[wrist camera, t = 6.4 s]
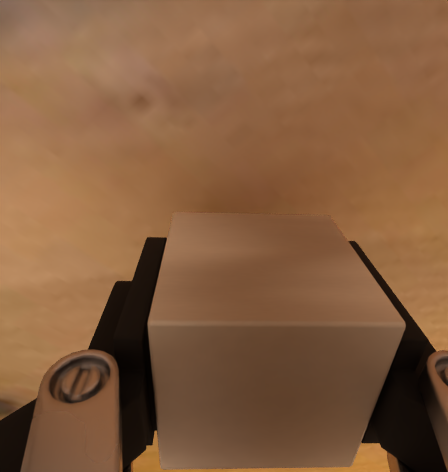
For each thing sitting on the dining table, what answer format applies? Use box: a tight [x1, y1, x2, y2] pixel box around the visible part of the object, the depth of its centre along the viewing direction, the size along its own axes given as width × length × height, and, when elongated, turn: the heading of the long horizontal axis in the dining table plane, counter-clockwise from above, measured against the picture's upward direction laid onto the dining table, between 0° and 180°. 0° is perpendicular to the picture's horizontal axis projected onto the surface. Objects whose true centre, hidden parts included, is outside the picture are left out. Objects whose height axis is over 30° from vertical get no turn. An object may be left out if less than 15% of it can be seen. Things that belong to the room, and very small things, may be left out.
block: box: [147, 212, 406, 469], centre depth 9 cm, size 4×4×4 cm
